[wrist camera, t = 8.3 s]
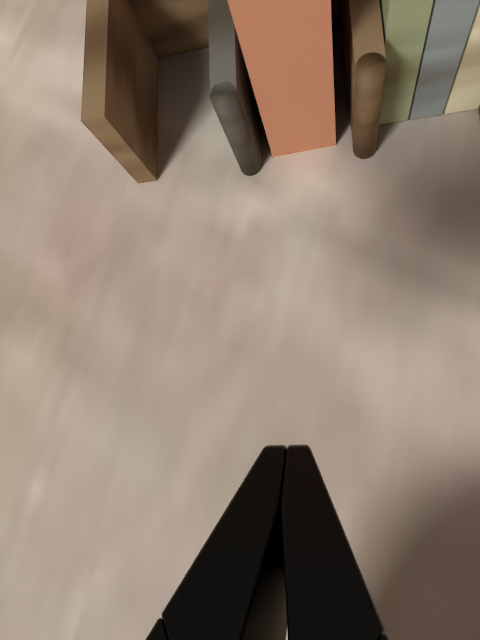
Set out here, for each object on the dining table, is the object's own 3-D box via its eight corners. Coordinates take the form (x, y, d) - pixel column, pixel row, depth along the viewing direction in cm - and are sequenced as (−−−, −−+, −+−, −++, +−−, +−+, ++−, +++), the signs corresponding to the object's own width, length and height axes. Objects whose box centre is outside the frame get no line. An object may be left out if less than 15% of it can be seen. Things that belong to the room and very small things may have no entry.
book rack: (509, 137, 22) (645, -89, 12) (137, 192, 26) (10, 60, 16) (480, -32, 24) (575, -345, 14) (140, 44, 29) (29, -153, 19)
